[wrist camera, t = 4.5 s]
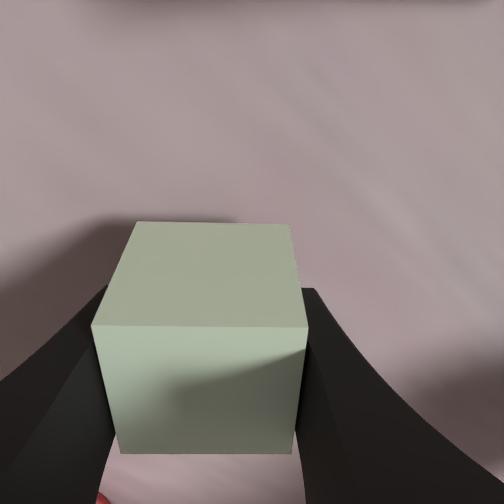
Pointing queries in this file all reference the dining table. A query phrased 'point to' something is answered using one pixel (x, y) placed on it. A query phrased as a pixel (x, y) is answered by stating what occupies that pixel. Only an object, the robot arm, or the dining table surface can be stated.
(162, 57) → the dining table surface
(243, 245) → the sage block
